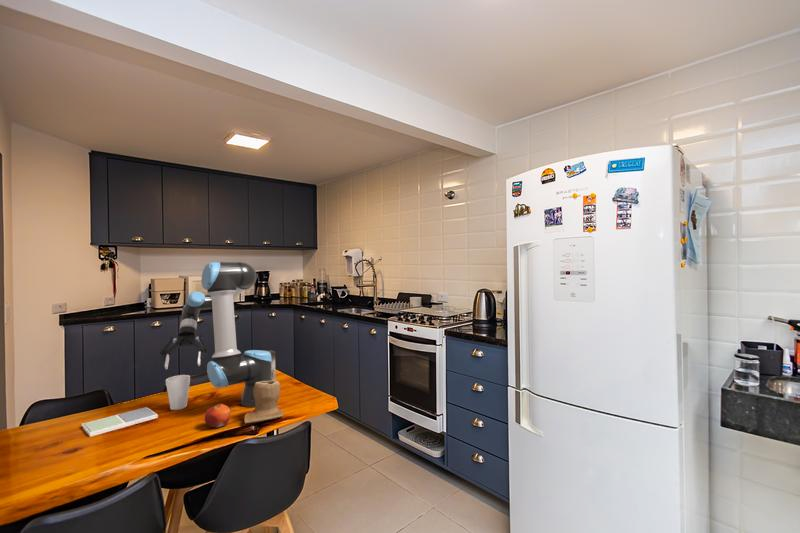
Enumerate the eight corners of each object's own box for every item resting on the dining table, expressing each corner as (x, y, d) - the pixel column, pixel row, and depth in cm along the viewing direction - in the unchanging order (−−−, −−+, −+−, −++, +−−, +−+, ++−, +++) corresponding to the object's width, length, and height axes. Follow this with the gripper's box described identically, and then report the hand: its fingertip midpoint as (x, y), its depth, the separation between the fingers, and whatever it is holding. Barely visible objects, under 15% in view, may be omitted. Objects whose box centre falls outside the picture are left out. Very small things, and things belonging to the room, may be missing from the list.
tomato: (235, 423, 147) (235, 403, 147) (212, 432, 139) (212, 411, 139) (222, 418, 152) (222, 399, 152) (199, 427, 145) (199, 406, 145)
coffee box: (258, 384, 196) (258, 354, 196) (254, 382, 201) (254, 352, 201) (275, 381, 202) (275, 351, 202) (271, 378, 207) (271, 349, 207)
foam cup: (194, 405, 168) (194, 376, 168) (173, 412, 160) (173, 382, 160) (183, 402, 172) (182, 374, 172) (161, 408, 165) (161, 379, 165)
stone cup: (280, 410, 161) (279, 375, 161) (285, 420, 150) (284, 382, 150) (242, 417, 154) (241, 380, 154) (244, 428, 143) (244, 389, 143)
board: (157, 417, 155) (157, 414, 155) (90, 436, 138) (90, 432, 138) (146, 409, 164) (146, 406, 164) (81, 426, 147) (81, 423, 147)
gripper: (215, 332, 197) (212, 367, 183) (160, 336, 188) (153, 373, 174) (214, 323, 192) (211, 359, 178) (158, 327, 183) (150, 364, 169)
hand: (182, 366), depth 176 cm, fingers open, 13 cm apart
